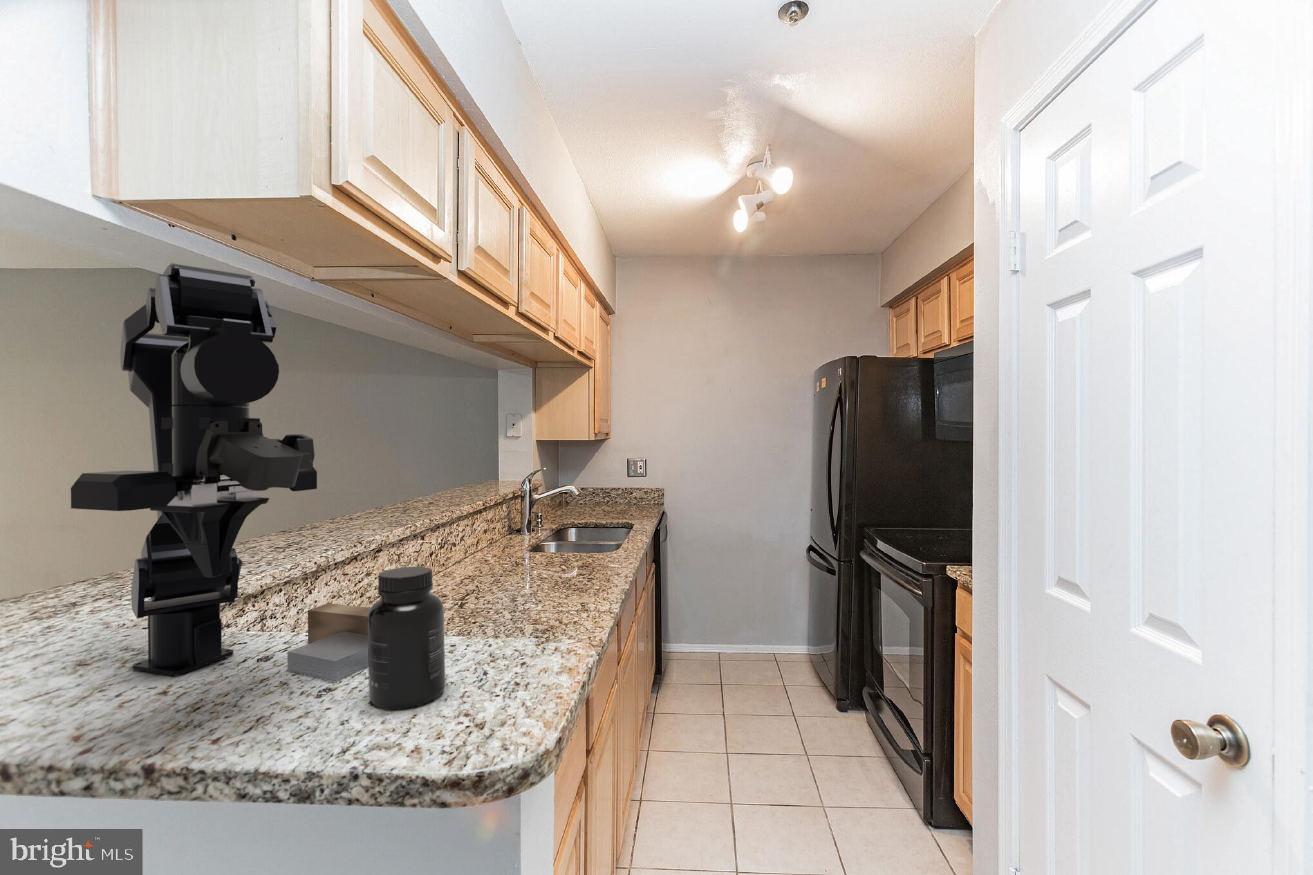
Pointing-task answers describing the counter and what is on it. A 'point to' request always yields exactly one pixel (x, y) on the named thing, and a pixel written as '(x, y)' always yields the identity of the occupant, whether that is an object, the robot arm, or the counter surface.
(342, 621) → the curved brown bar
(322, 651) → the grey metal plate
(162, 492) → the robot arm
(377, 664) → the supplement bottle
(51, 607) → the counter surface
